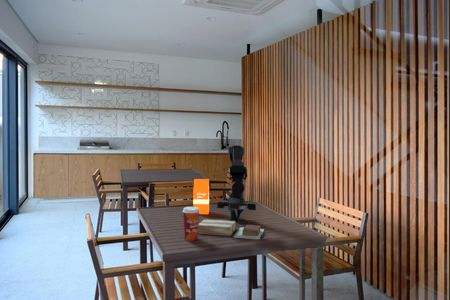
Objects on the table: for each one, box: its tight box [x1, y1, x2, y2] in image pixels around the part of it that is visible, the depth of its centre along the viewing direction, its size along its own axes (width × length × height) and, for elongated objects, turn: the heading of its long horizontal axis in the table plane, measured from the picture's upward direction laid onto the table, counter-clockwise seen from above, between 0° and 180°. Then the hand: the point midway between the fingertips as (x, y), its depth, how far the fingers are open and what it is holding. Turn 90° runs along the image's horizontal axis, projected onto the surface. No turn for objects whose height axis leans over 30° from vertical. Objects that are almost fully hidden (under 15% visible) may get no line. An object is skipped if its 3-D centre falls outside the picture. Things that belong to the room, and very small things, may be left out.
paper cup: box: [182, 206, 200, 242], centre depth 165 cm, size 8×8×14 cm
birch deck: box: [198, 218, 237, 237], centre depth 178 cm, size 12×16×4 cm
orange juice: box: [192, 178, 210, 215], centre depth 216 cm, size 8×9×20 cm
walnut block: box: [243, 224, 261, 236], centre depth 173 cm, size 9×7×2 cm
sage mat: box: [233, 227, 265, 240], centre depth 174 cm, size 16×12×1 cm
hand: (237, 222), depth 175 cm, fingers closed
